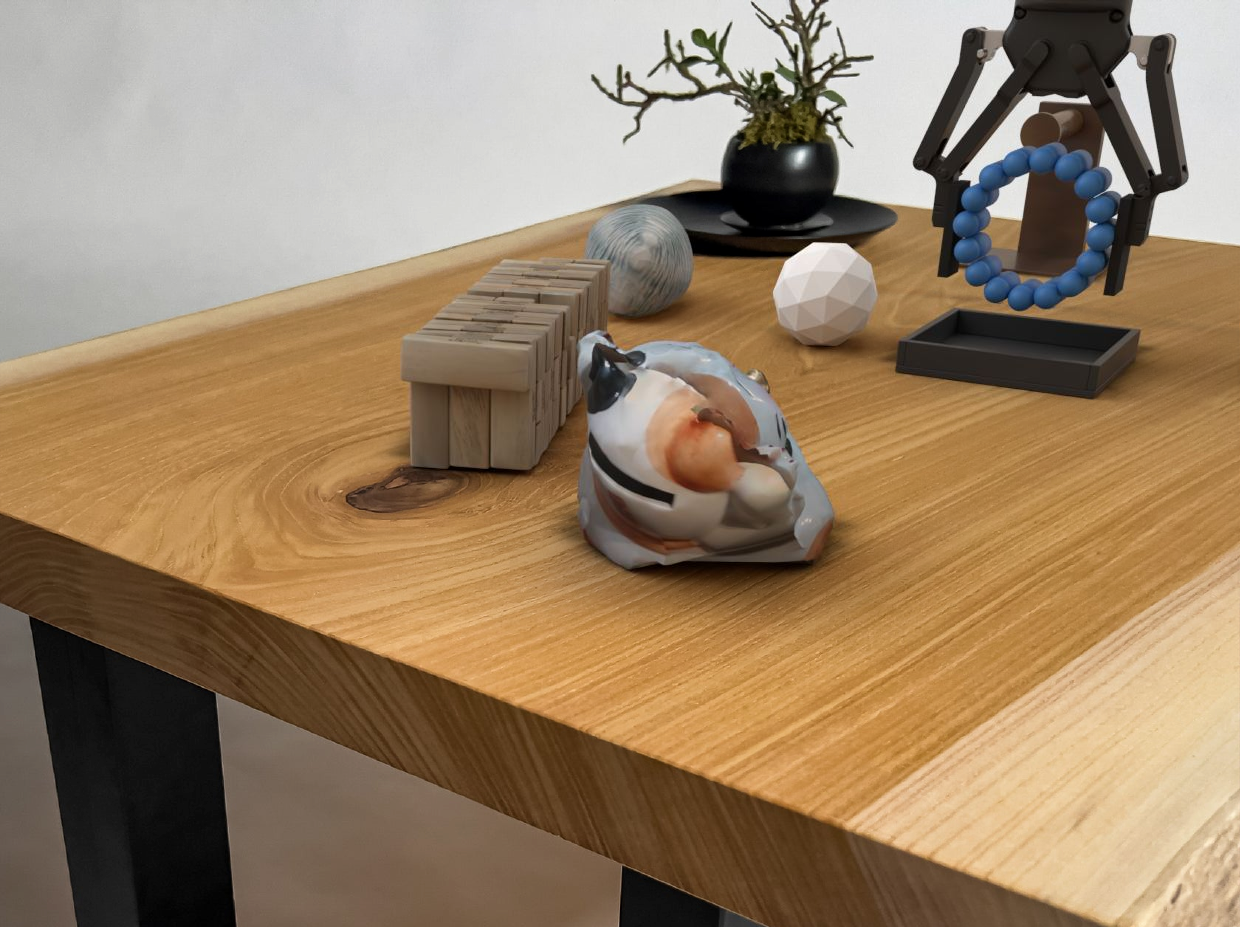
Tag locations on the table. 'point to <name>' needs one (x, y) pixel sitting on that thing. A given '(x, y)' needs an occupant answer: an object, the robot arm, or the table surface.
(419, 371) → the block tower
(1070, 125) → the bracelet rack
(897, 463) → the table surface
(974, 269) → the blue beaded bracelet
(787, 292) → the geometric ball
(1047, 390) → the tray
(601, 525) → the lucky cat figurine
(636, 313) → the grey streaked rounded piece
